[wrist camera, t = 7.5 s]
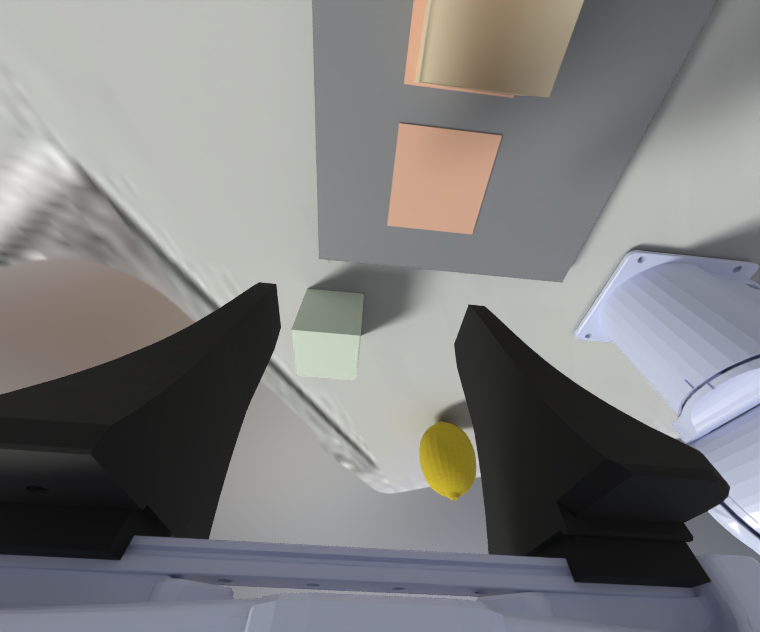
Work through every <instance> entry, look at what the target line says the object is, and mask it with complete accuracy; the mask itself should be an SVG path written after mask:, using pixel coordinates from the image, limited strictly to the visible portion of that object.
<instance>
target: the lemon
mask: <svg viewBox="0 0 760 632" xmlns="http://www.w3.org/2000/svg"><path fill="white" fill-rule="evenodd" d="M420 463H421V468H422V471H423V474H424V476H425V478H426V481H427V482H428V484H429V485H430V487H431V488H432V489H433V490H434V491H436V492H437V493H438V494H441V495H442V496H446V497H448V498H449V499H451V500H457V499H458V497H459V496H461V495H463V494H465V493H466V492H467V491H468V490H469V489H470V488H471V486H472V484H473V483H474V480H475V475H476V458H475V453H474V449H473V446H472V444H471V442H470V440H469V438H468V436H467V435H466V433H465V432H464V431H463V430H461V429H460V428H459V427H457V426H456V425H454V424H450V423H445V422H444V421H439V422H438V423H437V424H435V425H433V426H431V427H430V428H429V429H428V430H427V431H426V432H425V433H424V435H423V437H422V439H421V443H420Z"/></svg>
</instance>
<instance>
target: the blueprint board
mask: <svg viewBox="0 0 760 632" xmlns="http://www.w3.org/2000/svg"><path fill="white" fill-rule="evenodd" d="M716 2H717V0H584V2H583V5H582V7H581V10H580V13H579V16H578V18H577V21H576V24H575V27H574V30H573V32H572V35H571V38H570V41H569V43H568V46H567V49H566V52H565V55H564V57H563V60H562V63H561V66H560V68H559V71H558V74H557V77H556V80H555V82H554V85H553V88H552V91H551V93H550V96H549V97H536V96H522V95H508V94H499V93H491V92H483V91H475V90H468V89H460V88H452V87H444V86H436V85H428V84H421V83H415V78H416V71H417V63H418V56H419V49H420V41H421V34H422V26H423V19H424V12H425V4H426V0H312V10H313V48H314V86H315V124H316V162H317V199H318V237H319V259H326V260H336V261H346V262H357V263H367V264H377V265H387V266H398V267H408V268H418V269H429V270H439V271H449V272H460V273H470V274H480V275H491V276H501V277H511V278H522V279H532V280H542V281H553V282H563V280H564V278H565V276H566V274H567V273H568V271H569V269H570V267H571V265H572V264H573V262H574V260H575V258H576V256H577V254H578V253H579V251H580V249H581V247H582V245H583V244H584V242H585V240H586V238H587V236H588V234H589V233H590V231H591V229H592V227H593V225H594V224H595V222H596V220H597V218H598V216H599V214H600V213H601V211H602V209H603V207H604V205H605V204H606V202H607V200H608V198H609V196H610V194H611V193H612V191H613V189H614V187H615V185H616V184H617V182H618V180H619V178H620V176H621V174H622V173H623V171H624V169H625V167H626V165H627V164H628V162H629V160H630V158H631V156H632V154H633V153H634V151H635V149H636V147H637V145H638V144H639V142H640V140H641V138H642V136H643V134H644V133H645V131H646V129H647V127H648V125H649V124H650V122H651V120H652V118H653V116H654V114H655V113H656V111H657V109H658V107H659V105H660V104H661V102H662V100H663V98H664V96H665V94H666V93H667V91H668V89H669V87H670V85H671V84H672V82H673V80H674V78H675V76H676V74H677V73H678V71H679V69H680V67H681V65H682V64H683V62H684V60H685V58H686V56H687V54H688V53H689V51H690V49H691V47H692V45H693V43H694V42H695V40H696V38H697V36H698V34H699V33H700V31H701V29H702V27H703V25H704V23H705V22H706V20H707V18H708V16H709V14H710V13H711V11H712V9H713V7H714V5H715V3H716Z"/></svg>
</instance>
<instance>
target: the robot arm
mask: <svg viewBox="0 0 760 632" xmlns="http://www.w3.org/2000/svg"><path fill="white" fill-rule="evenodd" d="M640 257H642V258H641V259H639V258H640ZM638 259H639V260H638ZM758 269H759V265H757V264H755V263H753V262H746V261H737V260H727V259H717V258H708V257H698V256H688V255H679V254H669V253H660V252H650V251H640V250H633V251H630V252H629V253H627V254H626V255H625V257H624V258H623V260H622V261H621V263H620V264H619V266H618V267H617V269H616V270H615V272H614V273H613V275H612V276H611V278H610V279H609V281H608V282H607V284H606V285H605V287H604V288H603V290H602V292H601V293H600V295H599V296H598V298H597V299H596V301H595V302H594V304H593V305H592V307H591V308H590V310H589V311H588V313H587V314H586V316H585V317H584V319H583V320H582V322H581V323H580V325H579V326H578V328H577V330H576V331H575V333H574V336H575V337H576V338H577V339H580V340H592V341H603V342H612V343H613V344H614V345H615V346H616V347H617V348H618V349H619V350H620V352H621V353H622V354H623V355H624V356H625V357H626V358H627V360H628V361H629V362H630V363H631V364H632V365H633V366H634V367H635V369H636V370H637V371H638V372H639V373H640V374H641V375H642V376H643V378H644V379H645V380H646V381H647V382H648V383H649V384H650V386H651V387H652V388H653V389H654V390H655V391H656V392H657V393H658V395H659V396H660V397H661V398H662V399H663V400H664V401H665V402H666V404H667V405H668V406H669V407H670V408H671V409H672V410H673V412H674V413H675V414H676V415H677V416H678V417H679V418H678V419H677V420H676V421H674V422H673V423H671V425H670V426H671V427H672V428H673V429H674V431H675V432H676V433H677V434H678V435H679V437H680V438H681V439H682V440H683V441H682V442H680V441H678V440H676V439H674V438H672V437H670V436H668V435H666V434H664V433H662V432H660V431H657V430H655V429H653V428H651V427H649V426H647V425H646V424H644V423H642V422H640V421H638V420H636V419H635V418H633V417H631V416H629V415H627V414H625V413H623V412H622V411H620V410H618V409H616V408H615V407H613V406H611V405H610V404H608V403H606V402H605V401H603V400H601V399H600V398H598V397H597V396H595V395H593V394H592V393H590V392H589V391H587V390H585V389H584V388H582V387H581V386H579V385H578V384H576V383H575V382H573V381H572V380H571V379H569V378H568V377H566V376H565V375H564V374H562V373H561V372H560V371H558V370H557V369H555V368H554V367H553V366H552V365H550V364H549V363H548V362H546V361H545V360H544V359H543V358H542V357H540V356H539V355H538V354H537V353H536V352H534V351H533V350H532V349H531V348H530V347H529V346H527V345H526V344H525V343H524V342H523V341H522V340H521V339H520V338H519V337H517V336H516V335H515V334H514V333H513V332H512V331H511V330H510V329H509V328H508V327H507V326H506V325H505V324H504V323H503V322H502V321H500V320H499V319H498V318H497V317H496V316H495V315H494V314H493V313H492V312H491V311H490V310H489V309H487V308H486V307H485V306H478V305H468V308H467V311H466V314H465V316H464V319H463V322H462V324H461V327H460V330H459V333H458V335H457V338H456V341H455V343H454V346H455V355H456V363H457V368H458V372H459V376H460V380H461V383H462V387H463V391H464V394H465V398H466V401H467V405H468V408H469V412H470V416H471V419H472V424H473V428H474V433H475V439H476V445H477V451H478V458H479V465H480V472H481V479H482V488H483V496H484V505H485V514H486V526H487V538H488V551H489V554H470V553H451V552H433V551H414V550H395V549H377V548H356V547H338V546H320V545H302V544H301V545H300V544H282V543H263V542H245V541H227V540H209V535H210V532H211V528H212V524H213V520H214V516H215V513H216V509H217V505H218V501H219V497H220V494H221V491H222V487H223V484H224V480H225V477H226V473H227V470H228V467H229V463H230V460H231V457H232V454H233V450H234V447H235V444H236V441H237V438H238V435H239V432H240V428H241V426H242V423H243V420H244V417H245V414H246V411H247V409H248V406H249V404H250V401H251V399H252V397H253V395H254V393H255V390H256V388H257V386H258V384H259V382H260V380H261V378H262V375H263V373H264V371H265V369H266V367H267V365H268V362H269V360H270V358H271V356H272V354H273V351H274V349H275V345H276V342H277V339H278V336H279V332H280V329H281V324H280V314H279V305H278V296H277V287H276V284H270V283H261V282H259V283H257V284H256V285H254V286H252V287H251V288H249V289H248V290H246V291H245V292H243V293H242V294H240V295H239V296H237V297H236V298H234V299H233V300H231V301H230V302H228V303H227V304H225V305H224V306H222V307H221V308H219V309H218V310H216V311H214V312H213V313H211V314H209V315H207V316H206V317H204V318H202V319H201V320H199V321H197V322H196V323H194V324H192V325H190V326H189V327H187V328H185V329H183V330H181V331H179V332H177V333H175V334H173V335H171V336H169V337H167V338H165V339H163V340H161V341H159V342H156V343H154V344H152V345H149V346H147V347H144V348H142V349H140V350H137V351H135V352H132V353H130V354H127V355H125V356H123V357H120V358H118V359H115V360H112V361H109V362H107V363H104V364H101V365H98V366H95V367H93V368H89V369H86V370H83V371H81V372H77V373H74V374H71V375H68V376H65V377H62V378H58V379H55V380H51V381H48V382H44V383H41V384H37V385H34V386H30V387H27V388H23V389H20V390H16V391H13V392H9V393H5V394H1V395H0V632H760V565H759V563H758V562H757V560H756V559H754V558H752V557H750V556H733V555H715V554H710V555H709V554H708V555H700V556H694V554H693V553H692V551H691V549H690V548H689V546H688V545H687V543H686V542H690V541H693V536H692V534H691V533H690V531H689V530H688V529H687V527H686V525H685V524H684V522H686V521H688V520H690V519H692V518H694V517H696V516H698V515H700V514H702V513H704V512H706V511H708V512H709V513H710V514H711V515H712V516H713V517H714V518H715V519H716V520H717V521H718V522H719V523H720V524H721V525H722V526H723V527H724V528H726V529H727V530H728V531H729V532H731V534H733V535H734V536H735V537H737V538H738V539H739V540H741V541H742V542H743V543H745V544H746V545H747V546H749V547H750V548H752V549H753V550H754V551H756V552H757V553H758V554H759V555H760V284H759V283H757V282H755V281H753V280H751V279H750V278H751V277H752V276H753V275H754V274H755V273H756V272H757V270H758ZM218 585H226V586H249V587H272V588H295V589H317V590H339V591H362V592H385V593H408V594H429V595H452V596H475V597H478V599H477V601H471V600H462V599H447V598H425V597H402V596H400V597H399V596H378V595H356V594H355V595H354V594H333V593H280V594H275V595H270V596H264V597H262V598H253V599H234V598H233V591H232V589H231V588H229V587H224V586H218Z"/></svg>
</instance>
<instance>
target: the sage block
mask: <svg viewBox="0 0 760 632" xmlns="http://www.w3.org/2000/svg"><path fill="white" fill-rule="evenodd" d="M363 302H364V294H361V293H350V292H340V291H329V290H318V289H308V288H307V291H306V293H305V296H304V299H303V301H302V304H301V306H300V309H299V311H298V314H297V317H296V319H295V322H294V324H293V327H292V330H291V331H292V340H293V350H294V360H295V369H296V376H309V377H321V378H334V379H347V380H356V378H357V368H358V357H359V347H360V337H361V326H362V314H363Z"/></svg>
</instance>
